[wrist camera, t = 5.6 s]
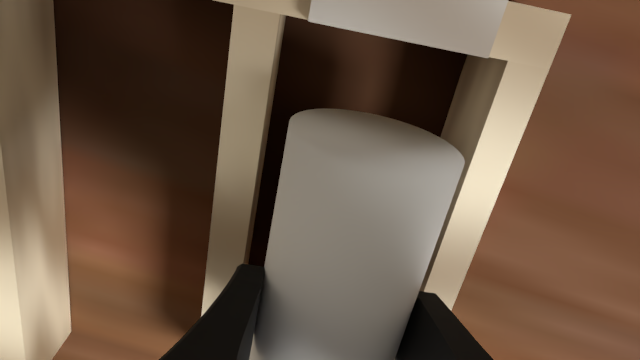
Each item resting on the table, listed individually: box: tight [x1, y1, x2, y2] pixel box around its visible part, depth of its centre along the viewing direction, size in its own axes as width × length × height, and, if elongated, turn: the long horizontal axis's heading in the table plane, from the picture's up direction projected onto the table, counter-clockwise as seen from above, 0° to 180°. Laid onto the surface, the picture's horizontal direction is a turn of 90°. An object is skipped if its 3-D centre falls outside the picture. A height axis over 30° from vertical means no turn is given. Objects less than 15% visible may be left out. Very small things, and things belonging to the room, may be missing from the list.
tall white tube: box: [249, 108, 465, 360], centre depth 12 cm, size 10×4×4 cm, turn 169°
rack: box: [0, 0, 571, 360], centre depth 13 cm, size 14×14×3 cm
